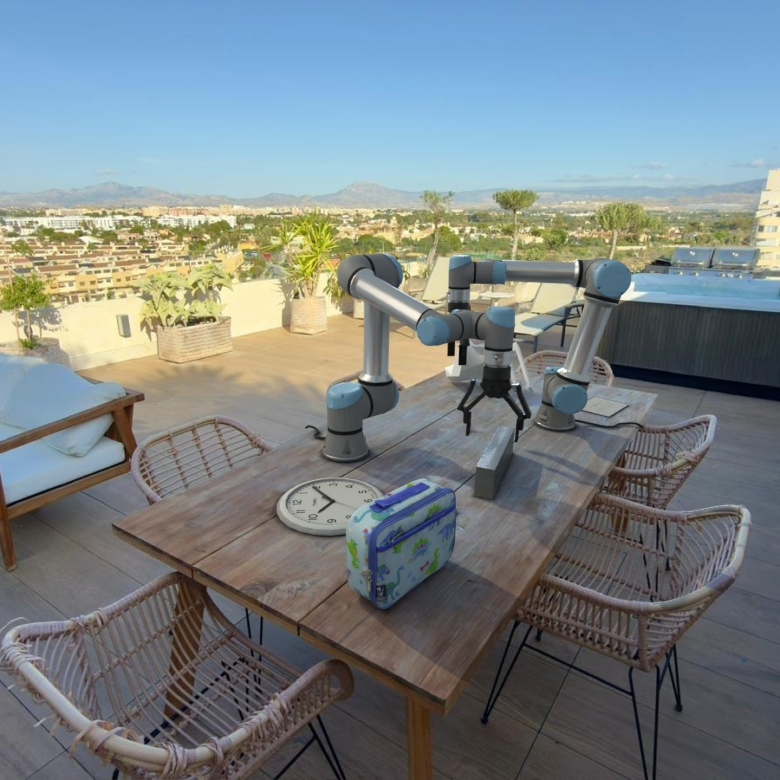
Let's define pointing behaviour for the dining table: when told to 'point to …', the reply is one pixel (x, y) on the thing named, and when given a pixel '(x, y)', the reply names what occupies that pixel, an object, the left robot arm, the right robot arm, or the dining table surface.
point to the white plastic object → (476, 365)
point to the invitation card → (603, 406)
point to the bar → (494, 463)
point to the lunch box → (400, 540)
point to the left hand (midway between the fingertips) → (491, 437)
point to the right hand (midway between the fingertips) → (456, 360)
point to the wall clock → (324, 504)
